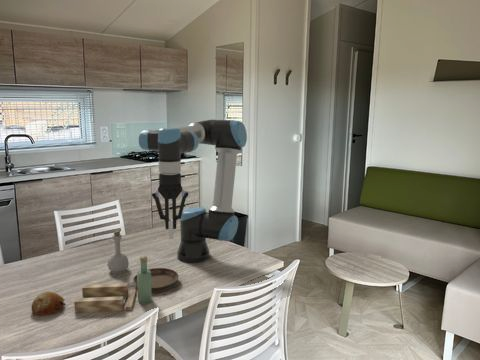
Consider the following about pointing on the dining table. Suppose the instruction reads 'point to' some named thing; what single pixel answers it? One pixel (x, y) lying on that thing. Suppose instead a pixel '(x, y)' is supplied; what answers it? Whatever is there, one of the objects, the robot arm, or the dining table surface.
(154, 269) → the plant saucer
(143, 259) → the bottle
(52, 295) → the bread roll
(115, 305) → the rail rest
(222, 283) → the dining table surface
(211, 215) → the robot arm
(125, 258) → the potion bottle
